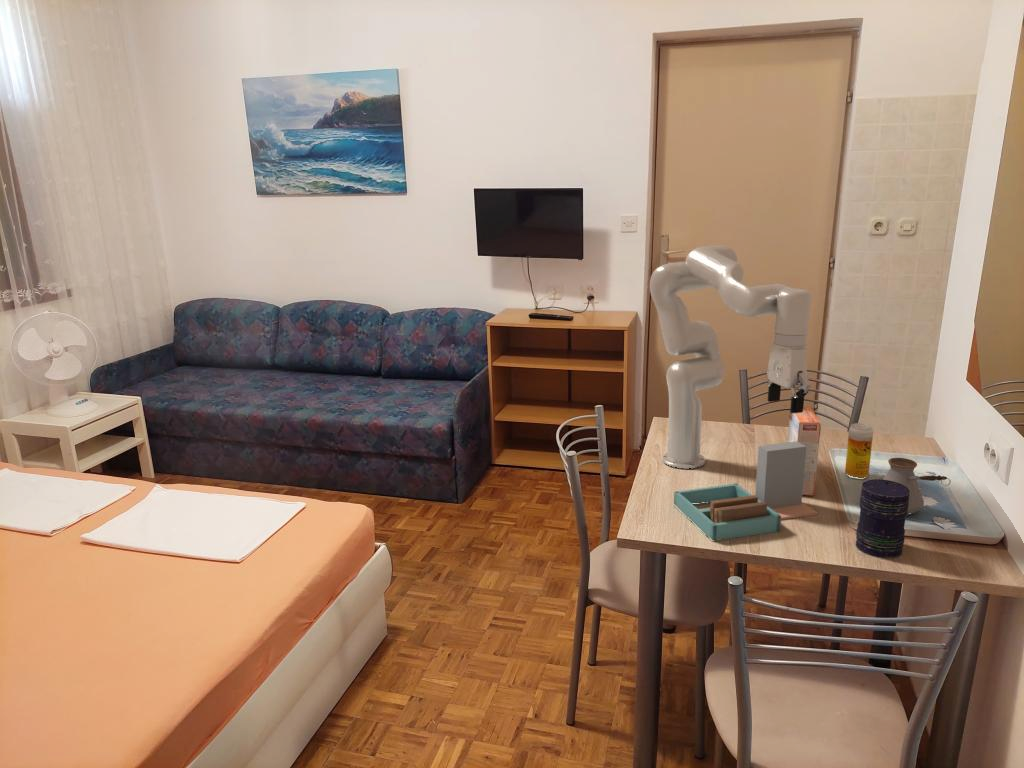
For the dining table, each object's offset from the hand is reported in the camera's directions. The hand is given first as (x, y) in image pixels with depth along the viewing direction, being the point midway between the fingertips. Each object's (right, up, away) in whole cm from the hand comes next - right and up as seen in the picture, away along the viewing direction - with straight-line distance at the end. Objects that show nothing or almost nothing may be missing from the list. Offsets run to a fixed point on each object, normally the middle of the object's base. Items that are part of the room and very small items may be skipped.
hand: (784, 406), depth 183 cm
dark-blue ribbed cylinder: (+16, -32, -15) cm, 39 cm away
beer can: (+29, -21, +24) cm, 44 cm away
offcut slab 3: (-13, -30, -6) cm, 33 cm away
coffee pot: (+31, -28, -1) cm, 41 cm away
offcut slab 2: (-13, -30, -4) cm, 33 cm away
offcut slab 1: (-14, -29, -2) cm, 32 cm away
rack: (-15, -28, +2) cm, 32 cm away
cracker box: (+11, -23, +19) cm, 32 cm away
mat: (+1, -26, +7) cm, 27 cm away
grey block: (+1, -26, +7) cm, 27 cm away
